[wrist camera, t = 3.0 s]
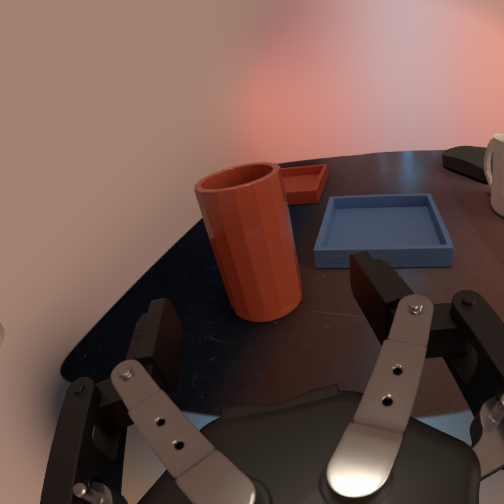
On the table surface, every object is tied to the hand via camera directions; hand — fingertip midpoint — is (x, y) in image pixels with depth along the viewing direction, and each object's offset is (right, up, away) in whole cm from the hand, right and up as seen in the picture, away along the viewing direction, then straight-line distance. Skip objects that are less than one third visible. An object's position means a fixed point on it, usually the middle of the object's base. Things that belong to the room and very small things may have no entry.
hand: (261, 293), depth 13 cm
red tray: (+5, +12, +37) cm, 39 cm away
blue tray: (+14, +4, +18) cm, 23 cm away
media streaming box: (+41, +16, +29) cm, 53 cm away
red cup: (+1, -2, +14) cm, 14 cm away
